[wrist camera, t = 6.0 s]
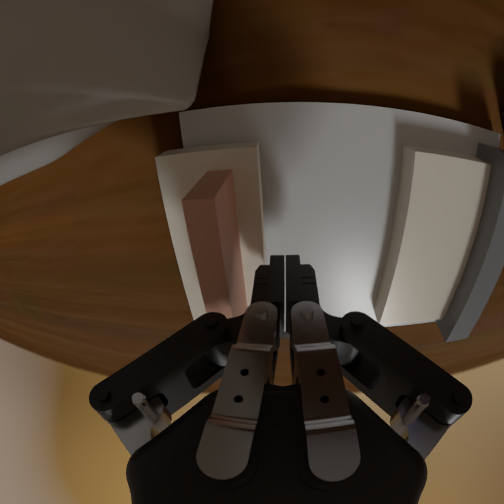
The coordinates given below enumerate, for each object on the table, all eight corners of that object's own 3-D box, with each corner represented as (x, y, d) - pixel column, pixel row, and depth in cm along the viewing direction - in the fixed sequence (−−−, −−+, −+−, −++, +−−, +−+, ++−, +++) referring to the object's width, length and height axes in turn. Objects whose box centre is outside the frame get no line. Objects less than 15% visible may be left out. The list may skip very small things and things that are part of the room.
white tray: (494, 132, 11) (532, 147, 8) (446, 313, 19) (462, 346, 16) (183, 111, 13) (153, 118, 10) (219, 322, 22) (210, 361, 18)
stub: (258, 141, 13) (246, 167, 8) (269, 316, 19) (264, 379, 15) (166, 150, 14) (114, 182, 9) (201, 314, 20) (183, 373, 15)
